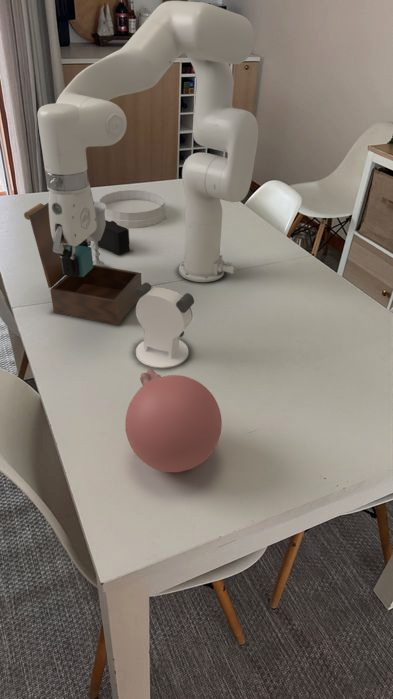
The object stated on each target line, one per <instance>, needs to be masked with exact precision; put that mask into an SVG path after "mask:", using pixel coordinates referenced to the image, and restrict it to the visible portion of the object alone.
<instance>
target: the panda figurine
mask: <svg viewBox="0 0 393 699" xmlns="http://www.w3.org/2000/svg"><path fill="white" fill-rule="evenodd" d="M135 296H136V297H137V298H139V299H138V300H137V302H136V306H135V315H136V319H137V321H138V323H139V324H140V326H141V327H142V328H143V340H142V341H141V342H139V343H138V345H137V346H136V348H135V356H136V358H137V360H138V361H139V362H140V363H141V364H143V365H145V366H147V367H150V368H154V369H170V368H174V367H177V366H179V365H181V364H182V363H184V362H185V361H186V360H187V358H188V357H189V347H188V345H187V344H186V343H185V342H184V341H182V340H180V338H182V337H183V336H184V335H185V330H186V329H187V327H188V326H189V325H190V324H191V322H192V320H193V311H192V308H191V307H192V306H193V305H194V304H195V298H194V296H193V295H192V294H191V293H189V292H187V293H184V294H183V295H181V294H180V293H178V292H177V291H174V290H172V289H169V288H165V287H157V286H155V287H152V285H151V283H149V282H144V283H143V284H142V286H140V287H139V288H138V289H137V290H136V291H135Z"/></svg>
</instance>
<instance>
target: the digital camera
mask: <svg viewBox="0 0 393 699" xmlns="http://www.w3.org/2000/svg"><path fill="white" fill-rule="evenodd" d="M105 223H106V225H105V229H104V232H103V235H102V237H101V240H100V241H98V246H99V248H101V249H104V250H106V251H108V252H111V253H113V254H115V255H117V256H121V255H124V254H126V253H129V252H130V251H131V250H130V230H129V229H130V228H125V227H122V226H119V225H117V223H116V222H114V221H110V222H109V221H107V220H105Z"/></svg>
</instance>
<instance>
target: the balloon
mask: <svg viewBox="0 0 393 699" xmlns="http://www.w3.org/2000/svg"><path fill="white" fill-rule="evenodd" d="M139 380H140V382H141V384H142V386H141V387H139V389H138V391H137V392H135V394H134V395H133V397H132V399H131V400H130V402H129V404H128V407H127V410H126V414H125V422H124V424H125V427H124V428H125V435H126V438H127V441H128V444H129V446H130V448H131V449H132V451H133V453H134V454H135V456H136V457H138V458H139V460H140V461H141V462H142V463H144V464H146V465H147V466H149V467H151V468H152V469H155V470H157V471H161V472H164V473H182V472H186V471H189V470H192V469H194V468H196V467H198V466H200V465H202V464H203V463H204V462H205V461H206V460H207V459H208V458H209V457H210V456H211V455H212V453H213V452H214V451H215V449H216V448H217V445H218V444H219V440H220V438H221V433H222V427H223V426H222V425H223V423H222V421H223V420H222V414H221V409H220V407H219V406H220V405H219V404H218V402H217V400H216V398H215V396H214V395H213V394H212V392H211V391H210V390H209V389H208V388H207V387H206V386H205V385H204V384H202V383H201V382H200V381H198V380H196V379H194V378H191V377H188V376H185V375H179V374H170V375H169V374H168V375H163V376H161V375H160V374H158V373H156V372H155V369H153V368H148V369H147V372H142V373H141V374H140V378H139Z"/></svg>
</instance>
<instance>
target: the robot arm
mask: <svg viewBox="0 0 393 699" xmlns="http://www.w3.org/2000/svg"><path fill="white" fill-rule="evenodd" d="M254 45H255V31H254V28H253V26H252V24H251V22H250V20H249V19H248V18H247V17H246V16H244V15H242V14H239V13H236V12H234V11H231V10H228V9H225V8H223V7H220V6H217V5H214V4H211V3H207V2H201V1H187V0H167V1H164V2H161V4H159V5H158V6H157V7H156V8H155V9H154V10H153V12H151V14H150V15H149V16H148V17H147V18H146V19H145V21H144V22H143V23H142V24H141V26H140V27H138V28H137V30H136V31H135V33H134V34H133V35H132V36H131V37H130V38H129V40H128V41H127V42H126V43H125V44H124V45H123V46H122V47H121V48H120V49H118V50H116V51H114V52H112V53H110V54H108V55H107V56H104V57H102V58H101V59H99V60H97V61H96V62H94V63H92V64H91V65H90V64H89V65H88V66H87V67H86V68H84V69H82V70H81V71H80V72H79V73H78V74H76V75H75V76H74V78H72V80H71V81H70V82H69V83H68V84H67V85H66V87H65V88H64V89H63V90H62V91H61V93H60V94H59V95H58V98H57V99H56V101H55V103H47V104H44V105H42V106H40V107H39V108H38V110H37V115H36V118H37V125H38V131H39V132H38V133H39V140H40V146H41V153H42V161H43V165H44V166H43V168H44V174H45V181H46V188H47V191H48V202H49V218H50V228H51V234H52V238H53V241H54V245H53V252H55V253H58V254H59V255H60V258H62V263H63V271H64V274H65V276H66V275H68V276H73V277H78V276H79V275H80V274H79V265H78V258H75V248H76V246H78V245H79V246H85V247H91V245H92V241H91V240H90V236H91V234H92V233H93V232H94V231H95V230H96V228H97V223H96V214H95V207H94V202H95V201H94V196H93V191H92V188H91V185H90V182H89V181H90V178H89V169H88V159H87V148H92V147H109V146H113V145H115V144H117V143H118V142H119V141H120V140H122V138H124V135H125V134H126V131H127V127H128V126H127V125H128V121H127V116H126V114H125V112H124V111H123V109H122V108H121V107H120V106H119V105H118V104H116V103H114V102H112V101H110V100H113V99H116V98H117V97H121V96H125V95H131V94H136V93H140V92H143V91H147V90H149V89H152V88H154V87H155V86H156V85H157V84H158V83H159V81H160V80H161V79H162V77H164V75H165V74H166V72H167V71H168V70H169V69H170V67H171V66H172V65H173V64H174V63H175V61H176V60H177V59H178V58H180V56H181V55H183V54H184V55H186V57H187V59H188V60H189V61H190V64H191V66H192V68H193V71H194V74H195V81H196V85H195V86H196V87H195V99H194V100H195V102H194V109H193V110H194V111H193V119H192V120H193V121H192V122H193V123H192V137H193V140H194V142H195V143H196V144H198V145H199V146H201V147H204V148H208V149H211V150H215V151H216V150H217V151H220V152H223V153H227V157H224V156H221V155H217V154H214V153H213V154H212V153H209V152H195V153H192V154H191V155H189V156H188V157H187V158H185V160H184V163H183V165H182V170H181V178H182V184H183V190H184V198H185V222H184V225H185V226H184V227H185V228H184V261H183V262H181V263H180V265H178V273H179V275H180V276H181V277H182V278H184V279H186V280H188V281H191V282H196V283H211V282H215V281H218V280H219V279H221V278H222V277H223V276H224V275H225V273H227V274H234V273H235V266H234V265H233V263H232V262H230V261H224V260H223V255H221V243H222V242H221V241H222V228H223V227H222V226H223V206H222V203H221V201H225V202H229V203H240V202H242V201H243V200H244V199H245V198H246V197H247V196H248V193H249V191H250V188H251V184H252V179H253V174H254V168H255V162H256V155H257V149H258V142H259V124H258V120H257V118H256V117H255V115H254V114H253V113H252V112H250V111H248V110H247V109H242V108H236V107H233V98H234V88H235V87H234V86H235V81H234V75H233V72H232V69H231V66H230V65H240V64H242V63H244V62H245V61H246V60H248V58H249V57H250V55H251V54H252V51H253V49H254ZM64 239H66V241H64ZM65 246H70V251H69V250H68V249H65Z"/></svg>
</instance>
